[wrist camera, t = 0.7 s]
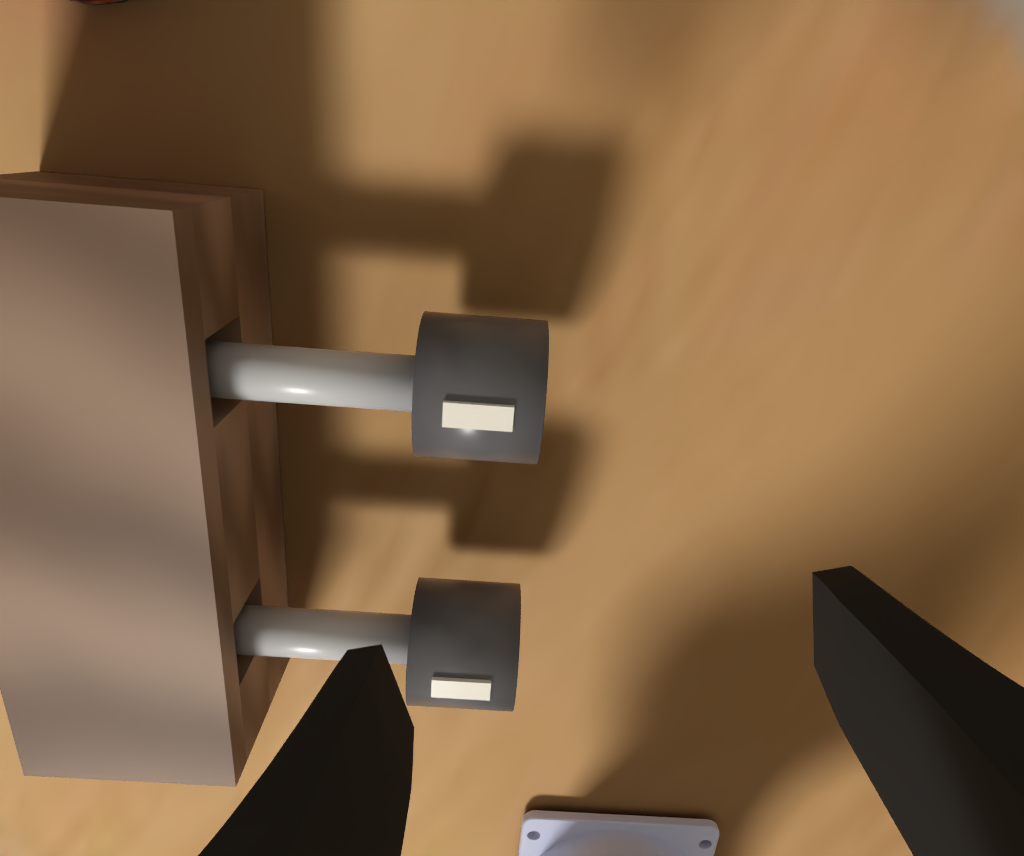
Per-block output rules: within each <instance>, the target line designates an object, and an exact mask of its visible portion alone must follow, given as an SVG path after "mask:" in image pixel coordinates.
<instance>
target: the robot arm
mask: <svg viewBox="0 0 1024 856" xmlns="http://www.w3.org/2000/svg"><path fill="white" fill-rule="evenodd" d="M812 573H813V629H814V666H815V668H816V671H817V673H818V676H819V678H820V680H821V683H822V685H823V688H824V690H825V692H826V695H827V697H828V700H829V702H830V704H831V706H832V709H833V711H834V713H835V716H836V718H837V720H838V722H839V725H840V727H841V728H842V730H843V732H844V734H845V736H846V738H847V739H848V741H849V743H850V745H851V746H852V748H853V750H854V752H855V754H856V755H857V757H858V759H859V761H860V762H861V764H862V766H863V768H864V770H865V771H866V773H867V775H868V777H869V778H870V780H871V782H872V784H873V785H874V787H875V789H876V791H877V792H878V794H879V796H880V798H881V799H882V801H883V803H884V805H885V806H886V808H887V810H888V812H889V813H890V815H891V817H892V819H893V820H894V822H895V824H896V826H897V828H898V829H899V831H900V833H901V835H902V836H903V838H904V840H905V842H906V843H907V845H908V847H909V849H910V850H911V852H912V854H913V856H1024V687H1022V686H1021V685H1019V684H1017V683H1016V682H1014V681H1013V680H1011V679H1009V678H1008V677H1006V676H1005V675H1003V674H1002V673H1000V672H999V671H997V670H996V669H994V668H993V667H991V666H990V665H988V664H987V663H985V662H984V661H982V660H981V659H979V658H978V657H976V656H975V655H974V654H972V653H971V652H969V651H968V650H966V649H965V648H963V647H962V646H960V645H959V644H958V643H956V642H955V641H953V640H952V639H950V638H949V637H947V636H946V635H945V634H943V633H942V632H940V631H939V630H938V629H936V628H935V627H933V626H932V625H931V624H929V623H928V622H926V621H925V620H924V619H922V618H921V617H920V616H918V615H917V614H916V613H914V612H913V611H912V610H910V609H909V608H907V607H906V606H905V605H903V604H902V603H901V602H899V601H898V600H897V599H895V598H894V597H893V596H891V595H890V594H889V593H887V592H886V591H885V590H883V589H882V588H881V587H879V586H878V585H877V584H875V583H874V582H873V581H871V580H870V579H869V578H867V577H866V576H865V575H863V574H862V573H860V572H859V571H858V570H856V569H855V568H854V567H852V566H847V567H841V568H835V569H829V570H823V571H817V572H812ZM413 742H414V726H413V723H412V721H411V718H410V716H409V713H408V711H407V708H406V705H405V703H404V700H403V698H402V695H401V693H400V690H399V687H398V685H397V682H396V680H395V677H394V674H393V672H392V669H391V667H390V664H389V662H388V659H387V656H386V654H385V651H384V649H383V646H382V644H379V645H373V646H367V647H361V648H355V649H349V650H347V651H346V653H345V654H344V655H343V657H342V658H341V660H340V661H339V663H338V664H337V666H336V667H335V669H334V670H333V672H332V673H331V675H330V676H329V678H328V679H327V681H326V682H325V684H324V685H323V687H322V688H321V690H320V691H319V693H318V694H317V696H316V697H315V699H314V700H313V702H312V703H311V705H310V706H309V708H308V709H307V711H306V712H305V714H304V715H303V717H302V718H301V720H300V721H299V723H298V724H297V726H296V727H295V729H294V730H293V731H292V733H291V734H290V736H289V737H288V739H287V740H286V742H285V743H284V744H283V746H282V747H281V749H280V750H279V752H278V753H277V755H276V756H275V757H274V759H273V760H272V762H271V763H270V764H269V766H268V767H267V769H266V770H265V771H264V773H263V774H262V775H261V777H260V778H259V779H258V781H257V782H256V783H255V785H254V786H253V787H252V789H251V790H250V791H249V793H248V794H247V795H246V797H245V798H244V799H243V801H242V802H241V803H240V805H239V806H238V807H237V809H236V810H235V811H234V812H233V814H232V815H231V816H230V818H229V819H228V820H227V821H226V823H225V824H224V825H223V826H222V828H221V829H220V830H219V831H218V833H217V834H216V835H215V836H214V838H213V839H212V840H211V841H210V842H209V844H208V845H207V846H206V847H205V848H204V849H203V851H202V852H201V853H200V854H199V855H198V856H401V850H402V844H403V838H404V832H405V826H406V820H407V813H408V807H409V800H410V794H411V784H412V767H413ZM718 839H719V829H718V826H717V824H716V822H714V821H712V820H708V819H693V818H674V817H655V816H636V815H618V814H599V813H580V812H561V811H542V810H532V811H529V812H527V813H525V814H524V815H523V818H522V825H521V833H520V841H519V850H518V856H714V853H715V849H716V846H717V842H718Z"/></svg>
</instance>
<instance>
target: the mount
mask: <svg viewBox="0 0 1024 856" xmlns="http://www.w3.org/2000/svg"><path fill="white" fill-rule="evenodd" d="M205 340H208V341H222V342H236V343H249V344H263V345H273V342H272V326H271V309H270V293H269V276H268V259H267V243H266V226H265V210H264V193H263V189H250V188H238V187H225V186H213V185H201V184H188V183H176V182H163V181H151V180H138V179H126V178H114V177H101V176H89V175H76V174H64V173H51V172H39V171H37V172H25V173H13V174H1V175H0V690H1V694H2V697H3V701H4V705H5V708H6V712H7V715H8V719H9V723H10V726H11V730H12V734H13V737H14V741H15V744H16V748H17V752H18V755H19V759H20V763H21V766H22V770H23V774H24V776H41V777H60V778H79V779H98V780H117V781H135V782H154V783H173V784H192V785H210V786H229V787H236V785H237V783H238V781H239V778H240V776H241V774H242V771H243V769H244V766H245V764H246V762H247V759H248V757H249V754H250V752H251V750H252V747H253V745H254V743H255V740H256V738H257V735H258V733H259V731H260V728H261V726H262V723H263V721H264V719H265V716H266V714H267V712H268V709H269V707H270V704H271V702H272V700H273V697H274V695H275V693H276V690H277V688H278V685H279V683H280V681H281V678H282V676H283V673H284V671H285V669H286V666H287V664H288V662H289V659H290V658H289V657H272V656H255V655H238V654H236V647H235V637H234V627H233V624H234V622H235V620H236V618H237V616H238V615H239V613H240V611H241V609H242V608H243V606H244V605H258V606H274V607H288V591H287V574H286V558H285V541H284V525H283V508H282V491H281V475H280V458H279V442H278V425H277V409H276V402H267V401H253V400H239V399H224V398H211V397H210V387H209V377H208V367H207V357H206V347H205Z"/></svg>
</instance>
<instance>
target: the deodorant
mask: <svg viewBox="0 0 1024 856" xmlns="http://www.w3.org/2000/svg"><path fill="white" fill-rule="evenodd" d="M71 1H76V2H81V3H86V4H91V5H98V4H108V3H118V2H125V1H127V0H71Z"/></svg>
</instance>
